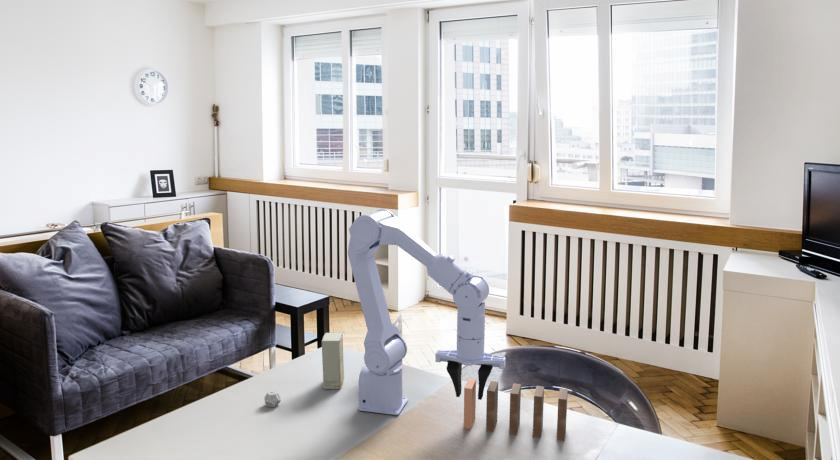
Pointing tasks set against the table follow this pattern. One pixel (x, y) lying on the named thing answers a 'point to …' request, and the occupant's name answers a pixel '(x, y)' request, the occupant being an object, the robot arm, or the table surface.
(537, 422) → the domino
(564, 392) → the domino
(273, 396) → the game die
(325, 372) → the skincare box
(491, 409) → the domino
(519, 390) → the domino
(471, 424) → the head domino
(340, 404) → the table surface
